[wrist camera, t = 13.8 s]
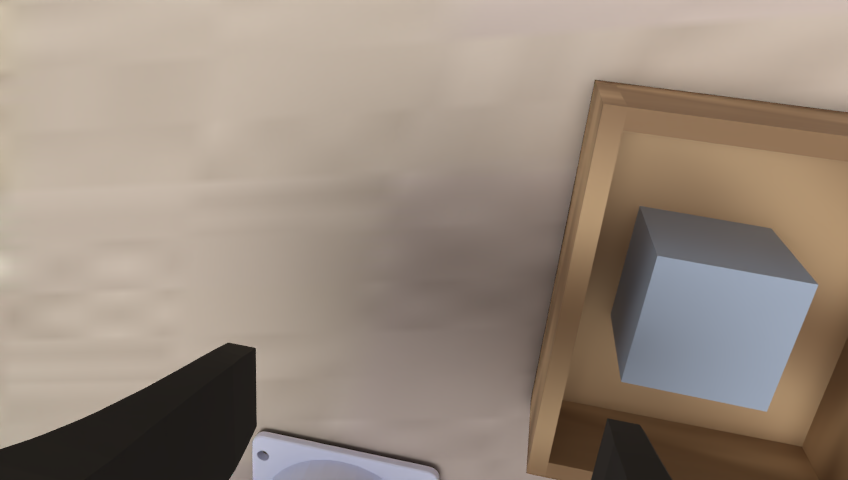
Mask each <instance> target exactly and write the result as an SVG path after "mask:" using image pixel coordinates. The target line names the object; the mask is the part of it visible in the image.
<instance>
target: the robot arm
mask: <svg viewBox="0 0 848 480" xmlns="http://www.w3.org/2000/svg"><path fill="white" fill-rule="evenodd" d="M256 426H257V420H256V348H253V347H248V346H243V345H238V344H232V343H227V344H225V345H223V346H221V347H219V348H217V349H215V350H213V351H211V352H209V353H208V354H206V355H204V356H202V357H200V358H199V359H197V360H195V361H193V362H192V363H190V364H188V365H186V366H184V367H183V368H181V369H179V370H177V371H175V372H174V373H172V374H170V375H168V376H166V377H164V378H163V379H161V380H159V381H157V382H155V383H153V384H152V385H150V386H148V387H146V388H144V389H142V390H140V391H138V392H136V393H134V394H132V395H130V396H128V397H126V398H124V399H122V400H120V401H118V402H116V403H114V404H112V405H110V406H108V407H106V408H104V409H102V410H100V411H98V412H96V413H94V414H91V415H89V416H87V417H85V418H82V419H80V420H78V421H75V422H73V423H71V424H68V425H66V426H63V427H61V428H58V429H56V430H53V431H51V432H48V433H46V434H43V435H41V436H38V437H35V438H33V439H30V440H27V441H24V442H21V443H18V444H15V445H12V446H9V447H6V448H3V449H0V480H229V479H230V477H231V475H232V474H233V472H234V471H235V469H236V467H237V465H238V463H239V461H240V459H241V457H242V456H243V454H244V452H245V450H246V448H247V445H248V443H249V441H250V439H251V437H252V435H253V433H254V431H255V429H256ZM262 451H265V452H266V453H267V454H265V453H263V452H262ZM252 467H253V480H439V479H440V478H439V474H438V472H437V471H436V470H435V469H434V468H432V467H429V466H425V465H420V464H415V463H411V462H406V461H401V460H397V459H392V458H387V457H383V456H378V455H373V454H369V453H364V452H359V451H355V450H350V449H345V448H341V447H336V446H331V445H327V444H322V443H317V442H313V441H308V440H303V439H299V438H294V437H289V436H285V435H280V434H275V433H271V432H264V431H262V432H259V433H258V434H257V435H256V436H255V438H254V439H253V442H252ZM591 480H672V478H671V477H670V475H669V473H668V471H667V470H666V468H665V466H664V465H663V463H662V461H661V460H660V458H659V456H658V454H657V453H656V451H655V449H654V447H653V446H652V444H651V442H650V440H649V439H648V437H647V435H646V433H645V432H644V430H643V429H642V427H641V426H640V425H639V424H634V423H629V422H624V421H619V420H614V419H609V418H607V422H606V425H605V429H604V433H603V437H602V440H601V444H600V448H599V452H598V455H597V459H596V463H595V467H594V470H593V474H592V478H591Z"/></svg>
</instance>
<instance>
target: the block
mask: <svg viewBox="0 0 848 480" xmlns="http://www.w3.org/2000/svg"><path fill="white" fill-rule="evenodd" d="M817 287H818V284H817V282H816V281H815V280H814V279H813V278H812V276H811V275H810V274H809V273H808V272H807V270H806V269H805V268H804V267H803V266H802V264H801V263H800V262H799V261H798V260H797V259H796V257H795V256H794V255H793V254H792V253H791V251H790V250H789V249H788V248H787V247H786V245H785V244H784V243H783V242H782V241H781V239H780V238H779V237H778V236H777V235H776V233H775V232H774V231H773V230H772V229H771V228H766V227H760V226H754V225H749V224H743V223H737V222H731V221H725V220H719V219H714V218H708V217H702V216H696V215H690V214H684V213H679V212H673V211H667V210H661V209H655V208H649V207H644V206H640V207H639V211H638V214H637V218H636V222H635V225H634V229H633V233H632V237H631V240H630V244H629V248H628V252H627V255H626V259H625V263H624V266H623V270H622V274H621V278H620V281H619V285H618V289H617V293H616V296H615V300H614V304H613V307H612V311H611V321H612V327H613V334H614V340H615V347H616V353H617V359H618V366H619V372H620V378H621V382H625V383H630V384H634V385H639V386H644V387H649V388H654V389H659V390H664V391H668V392H673V393H678V394H683V395H688V396H693V397H698V398H703V399H707V400H712V401H717V402H722V403H727V404H732V405H737V406H741V407H746V408H751V409H756V410H761V411H766V412H767V410H768V408H769V405H770V403H771V400H772V398H773V395H774V393H775V390H776V388H777V385H778V383H779V381H780V378H781V376H782V373H783V371H784V368H785V366H786V363H787V361H788V358H789V356H790V354H791V351H792V349H793V346H794V344H795V341H796V339H797V336H798V334H799V331H800V329H801V327H802V324H803V322H804V319H805V317H806V314H807V312H808V309H809V307H810V304H811V302H812V300H813V297H814V295H815V292H816V290H817Z"/></svg>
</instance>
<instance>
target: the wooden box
mask: <svg viewBox="0 0 848 480" xmlns="http://www.w3.org/2000/svg"><path fill="white" fill-rule="evenodd" d="M640 206H644V207H649V208H655V209H661V210H667V211H673V212H679V213H684V214H690V215H696V216H702V217H708V218H714V219H719V220H725V221H731V222H737V223H743V224H749V225H754V226H760V227H766V228H771V229H772V230H773V231H774V232H775V233H776V235H777V236H778V237H779V238H780V239H781V241H782V242H783V243H784V244H785V245H786V247H787V248H788V249H789V250H790V251H791V253H792V254H793V255H794V256H795V257H796V259H797V260H798V261H799V262H800V263H801V264H802V266H803V267H804V268H805V269H806V270H807V272H808V273H809V274H810V275H811V276H812V278H813V279H814V280H815V281H816V282H817V284H818V287H817V290H816V292H815V295H814V297H813V300H812V302H811V304H810V307H809V309H808V312H807V314H806V317H805V319H804V322H803V324H802V327H801V329H800V331H799V334H798V336H797V339H796V341H795V344H794V346H793V349H792V351H791V354H790V356H789V358H788V361H787V363H786V366H785V368H784V371H783V373H782V376H781V378H780V381H779V383H778V385H777V388H776V390H775V393H774V395H773V398H772V400H771V403H770V405H769V408H768V410H767V412H766V411H761V410H756V409H751V408H746V407H741V406H737V405H732V404H727V403H722V402H717V401H712V400H707V399H703V398H698V397H693V396H688V395H683V394H678V393H673V392H668V391H664V390H659V389H654V388H649V387H644V386H639V385H634V384H630V383H625V382H621V378H620V372H619V366H618V359H617V353H616V347H615V340H614V334H613V327H612V321H611V311H612V307H613V304H614V300H615V296H616V293H617V289H618V285H619V281H620V278H621V274H622V270H623V266H624V263H625V259H626V255H627V252H628V248H629V244H630V240H631V237H632V233H633V229H634V225H635V222H636V218H637V214H638V211H639V207H640ZM607 418H609V419H614V420H619V421H624V422H629V423H634V424H639V425H640V426H641V427H642V429H643V430H644V432H645V433H646V435H647V437H648V439H649V440H650V442H651V444H652V446H653V447H654V449H655V451H656V453H657V454H658V456H659V458H660V460H661V461H662V463H663V465H664V466H665V468H666V470H667V471H668V473H669V475H670V477H671V478H672V480H848V112H840V111H832V110H825V109H817V108H809V107H801V106H794V105H786V104H778V103H770V102H763V101H755V100H747V99H739V98H731V97H724V96H716V95H708V94H700V93H693V92H685V91H677V90H669V89H662V88H654V87H646V86H638V85H631V84H623V83H615V82H607V81H600V80H595V83H594V88H593V93H592V98H591V103H590V108H589V113H588V118H587V123H586V128H585V133H584V138H583V143H582V148H581V153H580V158H579V163H578V168H577V173H576V178H575V183H574V187H573V192H572V197H571V202H570V207H569V212H568V217H567V222H566V227H565V232H564V237H563V242H562V247H561V252H560V257H559V262H558V267H557V272H556V277H555V282H554V287H553V292H552V297H551V302H550V307H549V312H548V317H547V322H546V327H545V332H544V337H543V342H542V347H541V352H540V357H539V362H538V367H537V372H536V377H535V382H534V387H533V392H532V397H531V407H530V424H529V440H528V456H527V473H528V474H533V475H537V476H542V477H547V478H552V479H556V480H591V478H592V474H593V470H594V467H595V463H596V459H597V455H598V452H599V448H600V444H601V440H602V437H603V433H604V429H605V425H606V422H607Z"/></svg>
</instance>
